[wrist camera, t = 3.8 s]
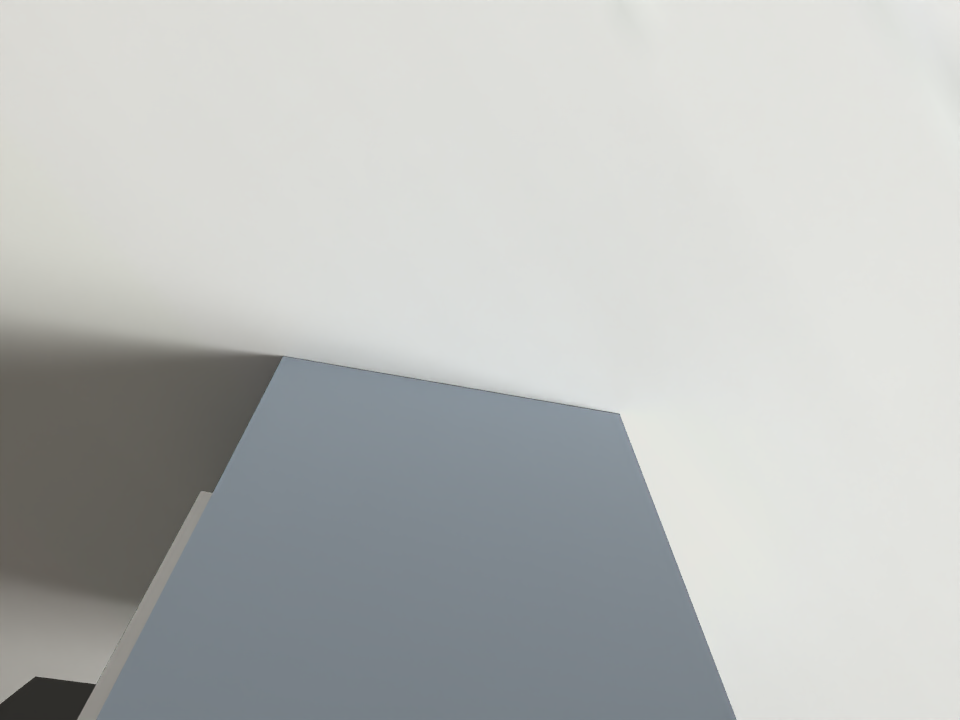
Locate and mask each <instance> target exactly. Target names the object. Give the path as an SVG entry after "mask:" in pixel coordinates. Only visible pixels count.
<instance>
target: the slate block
mask: <svg viewBox="0 0 960 720" xmlns="http://www.w3.org/2000/svg"><path fill="white" fill-rule="evenodd" d="M96 720H736V717H735V714H734V712H733V709H732V707H731V704H730V701H729V699H728V696H727V693H726V691H725V688H724V686H723V683H722V680H721V678H720V675H719V673H718V670H717V667H716V665H715V662H714V660H713V657H712V654H711V652H710V649H709V646H708V644H707V641H706V639H705V636H704V633H703V631H702V628H701V626H700V623H699V620H698V618H697V615H696V613H695V610H694V607H693V605H692V602H691V599H690V597H689V594H688V592H687V589H686V586H685V584H684V581H683V579H682V576H681V573H680V571H679V568H678V565H677V563H676V560H675V558H674V555H673V552H672V550H671V547H670V545H669V542H668V539H667V537H666V534H665V532H664V529H663V526H662V524H661V521H660V518H659V516H658V513H657V511H656V508H655V505H654V503H653V500H652V498H651V495H650V492H649V490H648V487H647V484H646V482H645V479H644V477H643V474H642V471H641V469H640V466H639V464H638V461H637V458H636V456H635V453H634V451H633V448H632V445H631V443H630V440H629V437H628V435H627V432H626V430H625V427H624V424H623V422H622V419H621V417H620V414H615V413H609V412H604V411H598V410H592V409H586V408H580V407H575V406H569V405H563V404H557V403H551V402H546V401H540V400H534V399H528V398H522V397H517V396H511V395H505V394H499V393H493V392H488V391H482V390H476V389H470V388H464V387H459V386H453V385H447V384H441V383H435V382H430V381H424V380H418V379H412V378H406V377H401V376H395V375H389V374H383V373H377V372H372V371H366V370H360V369H354V368H348V367H343V366H337V365H331V364H325V363H320V362H314V361H308V360H302V359H296V358H291V357H285V356H283V358H282V360H281V362H280V364H279V365H278V367H277V369H276V371H275V373H274V375H273V377H272V379H271V381H270V383H269V385H268V387H267V389H266V391H265V393H264V395H263V397H262V398H261V400H260V402H259V404H258V406H257V408H256V410H255V412H254V414H253V416H252V418H251V420H250V422H249V424H248V426H247V428H246V430H245V431H244V433H243V435H242V437H241V439H240V441H239V443H238V445H237V447H236V449H235V451H234V453H233V455H232V457H231V459H230V461H229V462H228V464H227V466H226V468H225V470H224V472H223V474H222V476H221V478H220V480H219V482H218V484H217V486H216V488H215V490H214V492H213V494H212V495H211V497H210V499H209V501H208V503H207V505H206V507H205V509H204V511H203V513H202V515H201V517H200V519H199V521H198V523H197V525H196V527H195V528H194V530H193V532H192V534H191V536H190V538H189V540H188V542H187V544H186V546H185V548H184V550H183V552H182V554H181V556H180V558H179V560H178V561H177V563H176V565H175V567H174V569H173V571H172V573H171V575H170V577H169V579H168V581H167V583H166V585H165V587H164V589H163V591H162V593H161V594H160V596H159V598H158V600H157V602H156V604H155V606H154V608H153V610H152V612H151V614H150V616H149V618H148V620H147V622H146V624H145V626H144V627H143V629H142V631H141V633H140V635H139V637H138V639H137V641H136V643H135V645H134V647H133V649H132V651H131V653H130V655H129V657H128V658H127V660H126V662H125V664H124V666H123V668H122V670H121V672H120V674H119V676H118V678H117V680H116V682H115V684H114V686H113V688H112V690H111V691H110V693H109V695H108V697H107V699H106V701H105V703H104V705H103V707H102V709H101V711H100V713H99V715H98V717H97V719H96Z"/></svg>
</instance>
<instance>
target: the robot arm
mask: <svg viewBox="0 0 960 720" xmlns="http://www.w3.org/2000/svg"><path fill="white" fill-rule="evenodd" d="M212 494H213V493H211V492H204V491H201V492H200V493H199V495H198V497H197V499H196V501H195V503H194V505H193V506H192V508H191V510H190V512H189V514H188V516H187V518H186V519H185V521H184V523H183V525H182V527H181V529H180V530H179V532H178V534H177V536H176V538H175V540H174V542H173V543H172V545H171V547H170V549H169V551H168V553H167V554H166V556H165V558H164V560H163V562H162V564H161V566H160V567H159V569H158V571H157V573H156V575H155V577H154V578H153V580H152V582H151V584H150V586H149V588H148V590H147V591H146V593H145V595H144V597H143V599H142V601H141V603H140V604H139V606H138V608H137V610H136V612H135V614H134V615H133V617H132V619H131V621H130V623H129V625H128V627H127V628H126V630H125V632H124V634H123V636H122V638H121V639H120V641H119V643H118V645H117V647H116V649H115V651H114V652H113V654H112V656H111V658H110V660H109V662H108V663H107V665H106V667H105V669H104V671H103V673H102V675H101V676H100V678H99V680H98V682H97V684H88V683H81V682H73V681H65V680H58V679H50V678H42V677H34V678H33V679H32V680H31V681H29V682H28V683H27V684H25V685H24V686H23V687H22V688H20V689H19V690H18V691H16V692H15V693H14V694H13V695H11V696H10V697H9V698H8V699H6V700H5V701H4V702H2V703H1V704H0V720H96V719H97V717H98V715H99V713H100V711H101V709H102V707H103V705H104V703H105V701H106V699H107V697H108V695H109V693H110V691H111V690H112V688H113V686H114V684H115V682H116V680H117V678H118V676H119V674H120V672H121V670H122V668H123V666H124V664H125V662H126V660H127V658H128V657H129V655H130V653H131V651H132V649H133V647H134V645H135V643H136V641H137V639H138V637H139V635H140V633H141V631H142V629H143V627H144V626H145V624H146V622H147V620H148V618H149V616H150V614H151V612H152V610H153V608H154V606H155V604H156V602H157V600H158V598H159V596H160V594H161V593H162V591H163V589H164V587H165V585H166V583H167V581H168V579H169V577H170V575H171V573H172V571H173V569H174V567H175V565H176V563H177V561H178V560H179V558H180V556H181V554H182V552H183V550H184V548H185V546H186V544H187V542H188V540H189V538H190V536H191V534H192V532H193V530H194V528H195V527H196V525H197V523H198V521H199V519H200V517H201V515H202V513H203V511H204V509H205V507H206V505H207V503H208V501H209V499H210V497H211V495H212Z"/></svg>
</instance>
